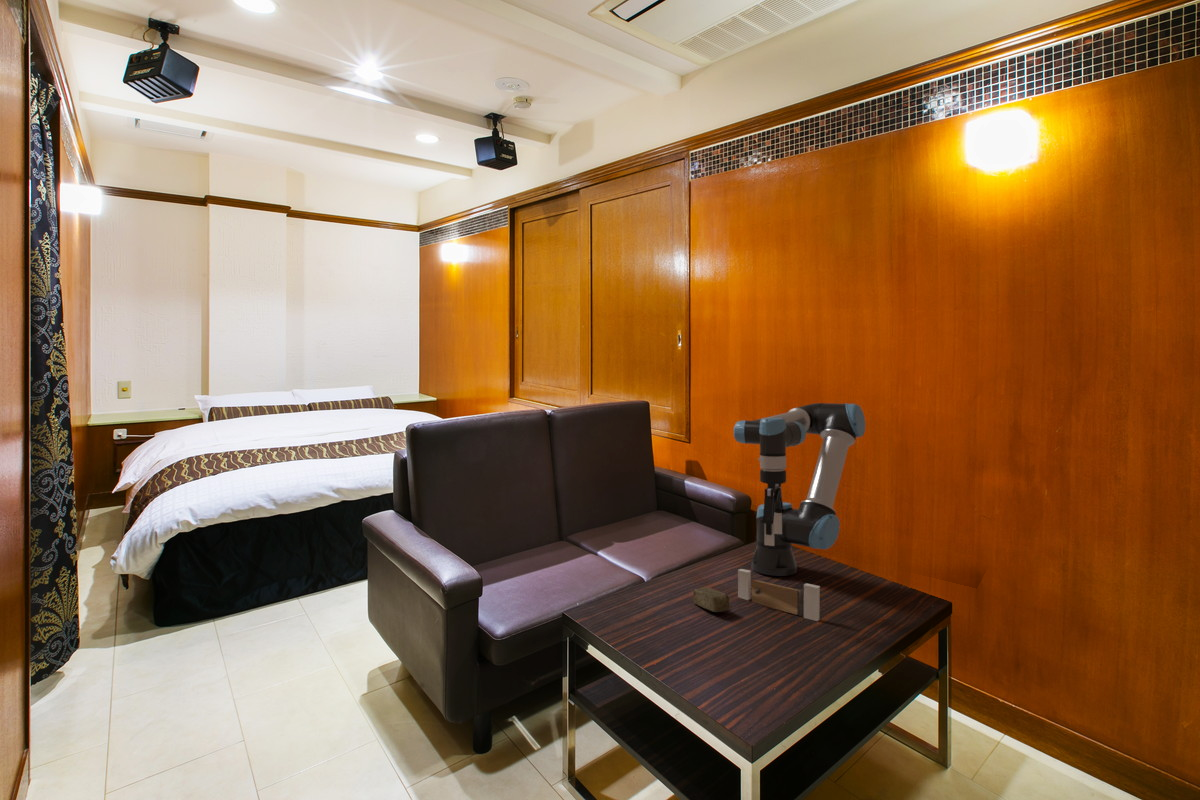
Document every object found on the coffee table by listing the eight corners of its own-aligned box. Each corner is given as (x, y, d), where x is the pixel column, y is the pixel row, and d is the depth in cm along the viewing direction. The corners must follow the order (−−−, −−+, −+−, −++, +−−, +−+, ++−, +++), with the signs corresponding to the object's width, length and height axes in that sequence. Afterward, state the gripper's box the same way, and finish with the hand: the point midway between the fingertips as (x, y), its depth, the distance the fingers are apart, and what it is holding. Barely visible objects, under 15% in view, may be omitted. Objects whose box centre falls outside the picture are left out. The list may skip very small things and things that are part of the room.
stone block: (715, 614, 169) (714, 597, 169) (691, 604, 179) (691, 588, 179) (731, 611, 172) (730, 593, 172) (706, 601, 182) (706, 585, 182)
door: (753, 602, 181) (753, 578, 181) (803, 615, 171) (803, 590, 171) (749, 604, 179) (749, 580, 179) (799, 618, 169) (799, 592, 169)
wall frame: (740, 598, 185) (740, 568, 184) (819, 619, 168) (820, 586, 168) (737, 600, 183) (737, 570, 183) (817, 621, 167) (817, 588, 166)
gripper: (767, 462, 188) (768, 528, 189) (751, 475, 166) (752, 549, 167) (792, 464, 185) (792, 530, 186) (778, 476, 163) (779, 552, 164)
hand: (773, 539), depth 176 cm, fingers open, 13 cm apart
